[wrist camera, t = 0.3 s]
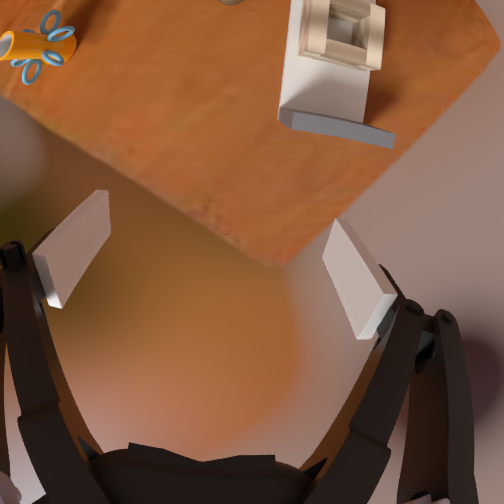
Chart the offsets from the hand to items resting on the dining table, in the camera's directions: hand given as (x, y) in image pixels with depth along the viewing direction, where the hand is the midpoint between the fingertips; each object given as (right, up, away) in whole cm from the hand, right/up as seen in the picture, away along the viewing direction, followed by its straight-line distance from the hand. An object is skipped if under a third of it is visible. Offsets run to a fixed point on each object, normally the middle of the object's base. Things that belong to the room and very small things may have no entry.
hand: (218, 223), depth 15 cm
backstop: (+13, +28, +15) cm, 35 cm away
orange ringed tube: (-28, +31, +11) cm, 44 cm away
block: (+13, +30, +14) cm, 36 cm away
